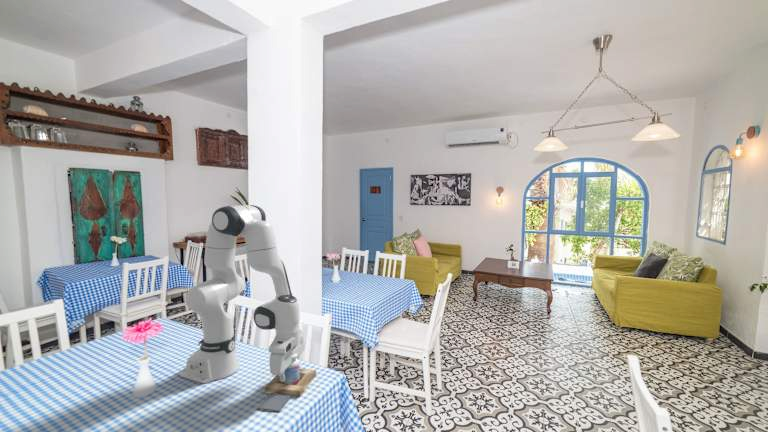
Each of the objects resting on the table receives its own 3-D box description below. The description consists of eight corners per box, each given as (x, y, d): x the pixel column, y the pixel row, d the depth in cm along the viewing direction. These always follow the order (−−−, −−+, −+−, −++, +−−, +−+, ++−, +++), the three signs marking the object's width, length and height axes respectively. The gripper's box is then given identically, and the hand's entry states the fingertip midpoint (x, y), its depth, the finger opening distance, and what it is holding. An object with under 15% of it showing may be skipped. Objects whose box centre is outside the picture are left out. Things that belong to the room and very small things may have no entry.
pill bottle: (295, 388, 117) (294, 359, 116) (280, 387, 118) (279, 358, 117) (302, 379, 123) (301, 351, 122) (288, 378, 124) (287, 350, 123)
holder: (265, 392, 115) (264, 387, 115) (284, 371, 128) (284, 366, 128) (300, 396, 112) (300, 391, 112) (316, 374, 126) (316, 370, 126)
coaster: (257, 409, 105) (257, 407, 105) (270, 394, 113) (270, 393, 113) (279, 412, 104) (279, 410, 104) (291, 397, 112) (291, 395, 112)
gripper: (293, 326, 130) (294, 359, 130) (265, 350, 110) (267, 388, 110) (308, 327, 128) (308, 360, 129) (282, 351, 108) (283, 390, 109)
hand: (289, 373), depth 120 cm, fingers open, 8 cm apart
